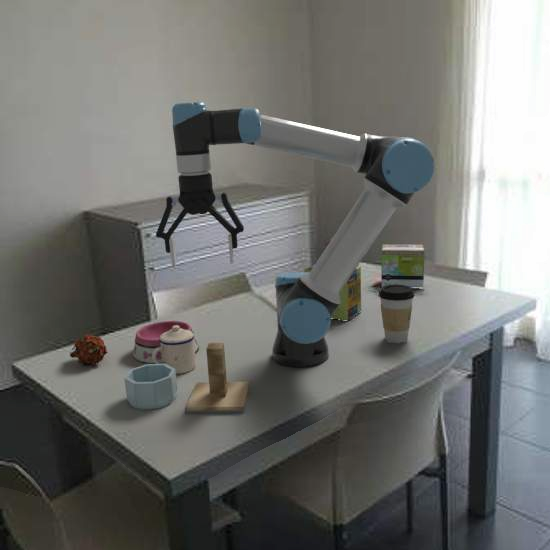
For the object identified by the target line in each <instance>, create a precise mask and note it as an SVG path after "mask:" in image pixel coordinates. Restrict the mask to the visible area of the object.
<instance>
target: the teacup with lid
mask: <svg viewBox="0 0 550 550" xmlns="http://www.w3.org/2000/svg"><path fill="white" fill-rule="evenodd" d="M194 336H195V333H194V334H193V333H192V332H191V331H189V330H184V329H181V328H180V327H179V326H178V325H175V326H173V327H172V329H171V330H169V331H168V332H165V333H163V334H162V335H161V336H160V339H159V341H160V343H161V347H158V348H156V349H155V350H154V351H153V353H152V359H153V361H154V363H156V364H167V365H169V366H171V367H173V368H175V370H176V375H178V374H186V373H189V372H191V371H193V370H194V369H195V368H196V366H197V363H196V354H195V349H194ZM160 350H161V353H162V362H158V361H157V360H156V354H157V352H158V351H160Z"/></svg>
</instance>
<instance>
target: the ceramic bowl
mask: <svg viewBox="0 0 550 550" xmlns="http://www.w3.org/2000/svg"><path fill="white" fill-rule="evenodd" d="M124 385H125V394H126V400H127V401H128V402H129V403H128V404H129V405H130V406H131V407H132V408H134V409H137V410H157V409H161V408H163V407H166V406H167V407H168V405H171V404H172V403H174V401H175V400H176V399H177V392H178V382H177V374H176V370H175V368H173V367H171V366H169V365H167V364H142V365H140V366H138V367H135V368H134V367H133V368H132V369H131V368H130V369H129V370H128V372H127V373H126V375H125V376H124Z"/></svg>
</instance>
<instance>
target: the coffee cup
mask: <svg viewBox="0 0 550 550" xmlns="http://www.w3.org/2000/svg"><path fill="white" fill-rule="evenodd" d="M378 297H379V298H380V310H381V319H382V328H383V329H384V339H386V340H387V341H386V340H385V341H386V342H388V341H389V342H388V343H390V342H394V343H393V344H401V343H400V342H403V343H406V342H407V341H408V339H409V329H410V325H411V319H412V311H413V310H412V309H413V298H414V297H415V292H414V291H413V289H412V288H411V287H409V286H406V285H387V286H383V287H382V286H381V288H380V291H379V292H378ZM405 341H406V342H405Z"/></svg>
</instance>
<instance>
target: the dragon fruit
mask: <svg viewBox="0 0 550 550" xmlns="http://www.w3.org/2000/svg"><path fill="white" fill-rule="evenodd" d="M71 350H73V351H72V352H69V357H70V358H71V359H73V358H77V359H78V363H79V364H82V365H86V364H85V363H87V365H90V366H93V365H94V364H96V363H97V364H98V363H100V362H102V361H103V360H104V357H105V355H107V354H108V349H107V346H106V345H105V342H104V340H103V339H102V338H101V337H99V336H95V335H93V334H85V335H84V336H83V338H82V339H78V340H76V342H75V343H74V346H73V348H71ZM97 364H96V365H97ZM94 366H95V365H94Z"/></svg>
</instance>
